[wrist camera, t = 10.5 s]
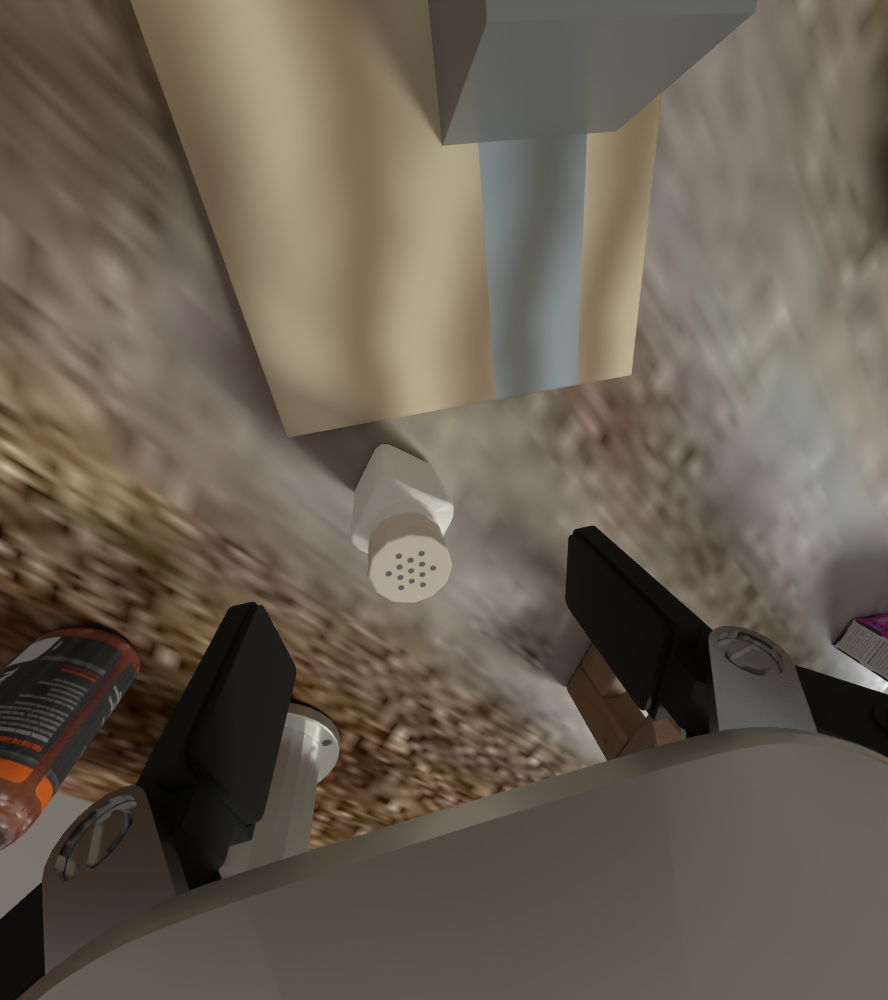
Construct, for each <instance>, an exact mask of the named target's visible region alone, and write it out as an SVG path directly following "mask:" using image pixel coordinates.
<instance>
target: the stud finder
mask: <svg viewBox="0 0 888 1000" xmlns="http://www.w3.org/2000/svg"><path fill="white" fill-rule="evenodd" d="M756 3H757V0H428V6H429V16H430V26H431V36H432V46H433V56H434V66H435V76H436V86H437V96H438V106H439V116H440V126H441V136H442V146H445V145H457V144H469V143H481V142H493V141H505V140H517V139H530V138H542V137H554V136H566V135H578V134H590V133H602V132H614V131H618V130H619V129H620V128H621V127H622V126H624V125H625V124H626V123H627V122H628V121H629V120H630V119H632V118H633V117H634V116H635V115H636V114H637V113H639V112H640V111H641V110H642V109H643V108H644V107H646V106H647V105H648V104H649V103H650V102H651V101H652V100H654V99H655V98H656V97H657V96H658V95H659V94H661V93H662V92H663V91H664V90H665V89H666V88H668V87H669V86H670V85H671V84H672V83H673V82H674V81H676V80H677V79H678V78H679V77H680V76H681V75H683V74H684V73H685V72H686V71H687V70H688V69H690V68H691V67H692V66H693V65H694V64H695V63H696V62H698V61H699V60H700V59H701V58H702V57H703V56H705V55H706V54H707V53H708V52H709V51H710V50H712V49H713V48H714V47H715V46H716V45H717V44H718V43H720V42H721V41H722V40H723V39H724V38H725V37H727V36H728V35H729V34H730V33H731V32H732V31H734V30H735V29H736V28H737V27H738V26H739V25H740V24H742V23H743V22H744V21H745V20H746V19H747V18H749V17H750V16H751V15H752V14H753V13H754V12H755V8H756Z"/></svg>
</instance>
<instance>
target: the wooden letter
mask: <svg viewBox="0 0 888 1000" xmlns="http://www.w3.org/2000/svg"><path fill="white" fill-rule="evenodd" d="M567 690H568V692H569V694H570V696H571V698H572V699H573V701H574V703H575V705H576V706H577V708H578V710H579V712H580V714H581V715H582V717H583V719H584V721H585V722H586V724H587V726H588V728H589V729H590V731H591V733H592V735H593V737H594V738H595V740H596V742H597V744H598V745H599V747H600V749H601V751H602V752H603V754H604V756H605V758H606V760H607V761H609V760H612V759H616V758H619V757H622V756H626V755H629V754H633V753H636V752H640V751H644V750H647V749H651V748H655V747H658V746H662V745H666V744H669V743H673V742H677V741H680V740H681V728H680V727H679V726H678V725H677V724H676V722H675V721H674V720H673V718H672V717H669V718H666V719H662V720H659V721H656V722H654V721H653V719H652V718H651V717H650V715H648V716H647V717H645V716H644V715H643V713H642V712H641V711H640V709H639V708H638V707H637V705H636V704H635V703H634V701H633V700H632V699H631V697H630V696H629V694H628V693H627V692H626V690H625V688H624V687H623V686H622V684H621V683H620V681H619V680H618V678H617V677H616V676H615V674H614V673H613V671H612V670H611V668H610V667H609V666H608V664H607V663H606V661H605V660H604V658H603V657H602V656H601V654H600V653H599V651H598V650H597V648H596V647H595V646H594V644H593V643H592V645H591V647H590V648H589V650H588V652H587V654H586V655H585V657H584V659H583V661H582V662H581V665H580V666H579V667H578V669H577V670H576V672H575V674H574V676H573V677H572V679H571V681H570V683H569V685H568V686H567Z"/></svg>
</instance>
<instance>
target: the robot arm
mask: <svg viewBox="0 0 888 1000" xmlns="http://www.w3.org/2000/svg"><path fill="white" fill-rule="evenodd" d="M565 599H566V603H567V606H568V608H569V610H570V611H571V613H572V614H573V616H574V617H575V618H576V620H577V621H578V623H579V624H580V626H581V627H582V628H583V630H584V631H585V633H586V634H587V636H588V637H589V638H590V640H591V641H592V643H593V644H594V646H595V647H596V648H597V650H598V651H599V653H600V654H601V656H602V657H603V658H604V660H605V661H606V663H607V664H608V666H609V667H610V668H611V670H612V671H613V673H614V674H615V676H616V677H617V678H618V680H619V681H620V683H621V684H622V686H623V687H624V688H625V690H626V691H627V693H628V694H629V696H630V697H631V699H632V700H633V701H634V703H635V704H636V705H637V707H638V708H639V709H641V710H646V711H647V712H648V714H649V715H650V717H651V718H652V719H653V721H654V722H656V721H659V720H662V719H666V718H669V717H672V718H673V720H674V721H675V722H676V724H677V725H678V726H679V727H680V728H681V740H680V741H677V742H673V743H669V744H666V745H662V746H658V747H655V748H651V749H647V750H644V751H640V752H636V753H633V754H629V755H626V756H622V757H619V758H616V759H612V760H609V761H605V762H602V763H599V764H595V765H592V766H589V767H585V768H582V769H578V770H575V771H572V772H568V773H565V774H561V775H558V776H555V777H551V778H548V779H545V780H541V781H538V782H534V783H531V784H528V785H524V786H521V787H518V788H514V789H511V790H508V791H504V792H501V793H498V794H494V795H491V796H488V797H485V798H481V799H478V800H475V801H471V802H468V803H465V804H461V805H458V806H455V807H451V808H448V809H445V810H441V811H438V812H435V813H432V814H428V815H425V816H422V817H418V818H415V819H412V820H408V821H405V822H402V823H398V824H395V825H392V826H389V827H385V828H382V829H379V830H376V831H372V832H369V833H366V834H363V835H359V836H356V837H353V838H350V839H346V840H343V841H340V842H337V843H333V844H330V845H327V846H324V847H320V848H317V849H314V850H311V851H309V845H310V837H311V828H312V820H313V812H314V804H315V796H316V788H317V783H318V782H320V781H321V780H322V779H323V778H324V777H325V776H327V775H328V774H329V773H330V771H331V770H332V769H333V767H334V766H335V764H336V762H337V759H338V756H339V747H340V736H339V733H338V730H337V728H336V726H335V725H334V724H333V723H332V721H331V720H330V719H328V718H327V717H326V716H324V715H323V714H322V713H320V712H318V711H316V710H314V709H312V708H310V707H306V706H303V705H300V704H295V703H290V700H291V696H292V691H293V687H294V683H295V678H296V668H295V664H294V662H293V660H292V658H291V657H290V655H289V653H288V651H287V649H286V647H285V645H284V643H283V642H282V640H281V638H280V636H279V634H278V632H277V630H276V628H275V627H274V625H273V623H272V621H271V619H270V617H269V615H268V614H267V612H266V610H265V608H264V607H263V606H262V605H259V606H258V605H257V604H256V603H255V602H249V603H245V604H240V605H236V606H232V607H230V608H229V609H228V611H227V613H226V615H225V617H224V618H223V620H222V622H221V624H220V626H219V628H218V630H217V632H216V633H215V635H214V637H213V639H212V641H211V643H210V645H209V647H208V648H207V650H206V652H205V654H204V656H203V658H202V660H201V662H200V664H199V665H198V667H197V669H196V671H195V673H194V675H193V677H192V679H191V680H190V682H189V684H188V686H187V688H186V690H185V692H184V694H183V695H182V697H181V699H180V701H179V703H178V705H177V707H176V709H175V711H174V712H173V714H172V716H171V718H170V720H169V722H168V724H167V726H166V727H165V729H164V731H163V733H162V735H161V737H160V739H159V741H158V742H157V744H156V746H155V748H154V750H153V752H152V754H151V756H150V758H149V759H148V761H147V763H146V765H145V767H144V769H143V771H142V774H141V776H140V778H139V780H138V782H137V784H136V785H135V786H134V785H131V786H125V787H121V788H119V789H117V790H114V791H112V792H110V793H108V794H107V795H105V796H104V797H102V798H101V799H99V800H98V801H96V802H95V803H93V804H92V805H91V806H90V807H89V808H88V809H87V810H85V811H84V812H83V813H82V814H81V815H80V816H79V817H78V818H77V819H76V820H75V821H74V822H73V823H72V824H71V826H70V827H69V828H68V829H67V830H66V831H65V832H64V834H63V835H62V836H61V838H60V839H59V841H58V842H57V844H56V845H55V847H54V848H53V850H52V852H51V854H50V856H49V858H48V860H47V862H46V865H45V867H44V872H43V878H42V882H41V883H40V884H39V885H38V886H37V887H36V888H35V889H34V890H32V891H31V892H30V893H29V894H28V895H27V896H26V897H25V898H24V899H22V900H21V901H20V902H19V903H18V904H17V905H16V906H15V907H13V908H12V909H11V910H10V911H9V912H8V913H7V914H6V915H5V916H3V917H2V918H1V919H0V1000H888V695H887V694H884V693H881V692H878V691H875V690H872V689H869V688H865V687H862V686H859V685H856V684H853V683H850V682H847V681H843V680H840V679H837V678H834V677H831V676H828V675H825V674H821V673H818V672H815V671H812V670H809V669H806V668H803V667H799V666H796V665H794V663H793V661H792V660H791V658H790V656H789V655H788V654H787V653H786V652H785V651H784V650H783V649H782V647H781V646H779V645H778V644H776V643H775V642H774V641H772V640H771V639H769V638H767V637H765V636H763V635H761V634H759V633H757V632H755V631H752V630H749V629H746V628H742V627H736V626H721V627H719V628H716V629H714V630H712V629H711V628H710V627H708V626H707V625H706V624H705V623H704V622H703V621H702V620H701V619H700V618H698V617H697V616H696V615H695V614H694V613H693V612H692V611H691V610H689V609H688V608H687V607H686V606H685V605H684V604H683V603H681V602H680V601H679V600H678V599H677V598H676V597H675V596H674V595H672V594H671V593H670V592H669V591H668V590H667V589H666V588H664V587H663V586H662V585H661V584H660V583H659V582H658V581H657V580H655V579H654V578H653V577H652V576H651V575H650V574H649V573H647V572H646V571H645V570H644V569H643V568H642V567H641V566H640V565H638V564H637V563H636V562H635V561H634V560H633V559H632V558H630V557H629V556H628V555H627V554H626V553H625V552H624V551H623V550H621V549H620V548H619V547H618V546H617V545H616V544H615V543H613V542H612V541H611V540H610V539H609V538H608V537H607V536H606V535H604V534H603V533H602V532H601V531H600V530H599V529H598V528H596V527H595V526H588V527H583V528H579V529H575V530H574V531H573V535H570V536H569V539H568V557H567V576H566V596H565Z"/></svg>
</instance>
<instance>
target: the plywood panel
mask: <svg viewBox="0 0 888 1000" xmlns="http://www.w3.org/2000/svg"><path fill="white" fill-rule="evenodd" d="M130 1H131V4H132V7H133V9H134V12H135V15H136V18H137V20H138V23H139V26H140V29H141V32H142V34H143V37H144V40H145V43H146V46H147V48H148V51H149V54H150V57H151V59H152V62H153V65H154V68H155V71H156V73H157V76H158V79H159V82H160V84H161V87H162V90H163V93H164V96H165V98H166V101H167V104H168V107H169V110H170V112H171V115H172V118H173V121H174V123H175V126H176V129H177V132H178V135H179V137H180V140H181V143H182V146H183V149H184V151H185V154H186V157H187V160H188V162H189V165H190V168H191V171H192V174H193V176H194V179H195V182H196V185H197V187H198V190H199V193H200V196H201V199H202V201H203V204H204V207H205V210H206V213H207V215H208V218H209V221H210V224H211V226H212V229H213V232H214V235H215V238H216V240H217V243H218V246H219V249H220V251H221V254H222V257H223V260H224V263H225V265H226V268H227V271H228V274H229V277H230V279H231V282H232V285H233V288H234V290H235V293H236V296H237V299H238V302H239V304H240V307H241V310H242V313H243V316H244V318H245V321H246V324H247V327H248V329H249V332H250V335H251V338H252V341H253V343H254V346H255V349H256V352H257V354H258V357H259V360H260V363H261V366H262V368H263V371H264V374H265V377H266V380H267V382H268V385H269V388H270V391H271V393H272V396H273V399H274V402H275V405H276V407H277V410H278V413H279V416H280V418H281V421H282V424H283V427H284V430H285V432H286V435H287V438H288V437H293V436H299V435H304V434H310V433H315V432H321V431H326V430H332V429H337V428H343V427H348V426H354V425H359V424H365V423H370V422H375V421H381V420H386V419H392V418H397V417H403V416H408V415H414V414H419V413H425V412H430V411H436V410H441V409H447V408H452V407H458V406H463V405H469V404H474V403H480V402H485V401H491V400H496V399H502V398H507V397H513V396H518V395H524V394H529V393H534V392H540V391H545V390H551V389H556V388H562V387H567V386H573V385H578V384H584V383H589V382H595V381H600V380H606V379H611V378H617V377H622V376H628V375H631V373H632V364H633V355H634V345H635V336H636V327H637V318H638V309H639V300H640V290H641V281H642V272H643V263H644V254H645V245H646V235H647V226H648V217H649V208H650V199H651V190H652V180H653V171H654V162H655V153H656V144H657V135H658V125H659V116H660V107H661V98H662V93H661V94H659V95H658V96H657V97H656V98H655V99H654V100H652V101H651V102H650V103H649V104H648V105H647V106H646V107H644V108H643V109H642V110H641V111H640V112H639V113H637V114H636V115H635V116H634V117H633V118H632V119H630V120H629V121H628V122H627V123H626V124H625V125H624V126H622V127H621V128H620V129H619V130H618V131H614V132H602V133H590V134H578V135H566V136H554V137H542V138H530V139H517V140H505V141H493V142H481V143H469V144H457V145H445V146H442V136H441V126H440V116H439V106H438V96H437V86H436V76H435V66H434V56H433V46H432V36H431V26H430V16H429V6H428V0H130Z"/></svg>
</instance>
